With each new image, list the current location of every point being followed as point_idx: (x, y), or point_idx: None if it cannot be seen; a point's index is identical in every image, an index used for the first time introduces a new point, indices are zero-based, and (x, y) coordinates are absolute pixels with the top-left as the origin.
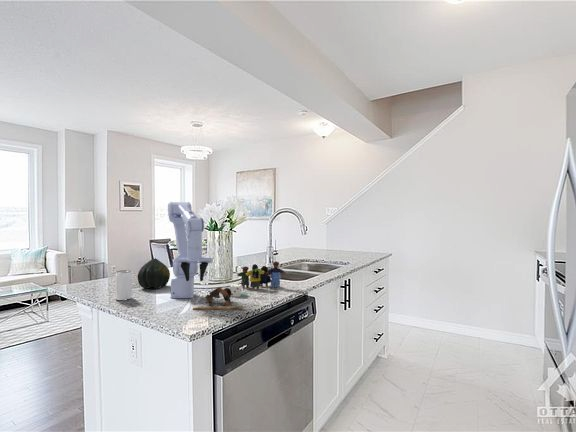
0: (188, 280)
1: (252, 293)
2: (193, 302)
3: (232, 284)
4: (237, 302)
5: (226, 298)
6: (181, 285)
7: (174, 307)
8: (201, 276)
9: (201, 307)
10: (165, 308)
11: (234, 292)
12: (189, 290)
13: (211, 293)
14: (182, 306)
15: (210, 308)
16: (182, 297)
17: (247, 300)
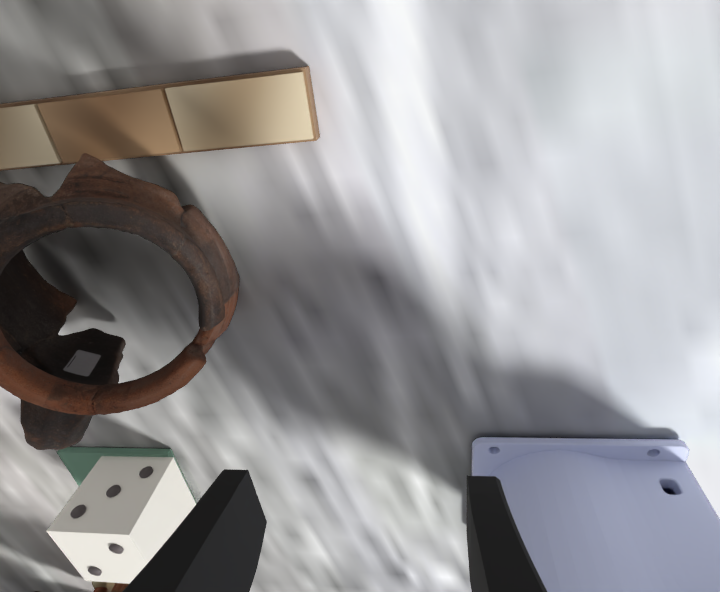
0: (467, 507)
1: None
2: (413, 330)
3: None
4: None
5: (82, 342)
6: (612, 557)
7: (565, 148)
8: (176, 541)
9: (210, 97)
10: (675, 94)
11: (121, 484)
12: (511, 511)
13: (179, 355)
14: (480, 195)
15: (109, 91)
16: (561, 441)
17: None
